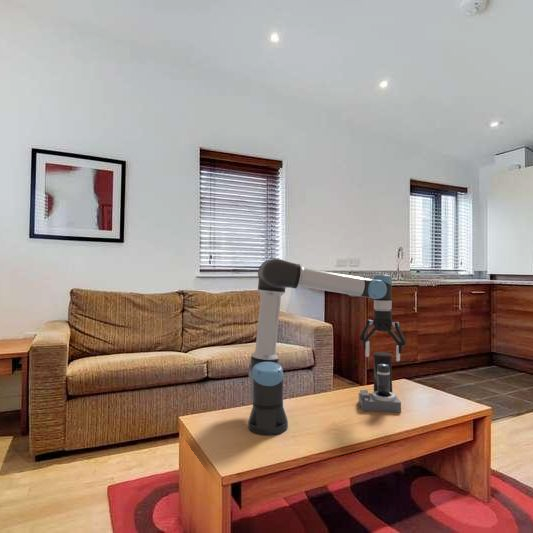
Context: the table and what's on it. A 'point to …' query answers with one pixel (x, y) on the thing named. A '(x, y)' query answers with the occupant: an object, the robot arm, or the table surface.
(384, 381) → the lens
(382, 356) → the container
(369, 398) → the camera body
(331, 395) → the table surface
